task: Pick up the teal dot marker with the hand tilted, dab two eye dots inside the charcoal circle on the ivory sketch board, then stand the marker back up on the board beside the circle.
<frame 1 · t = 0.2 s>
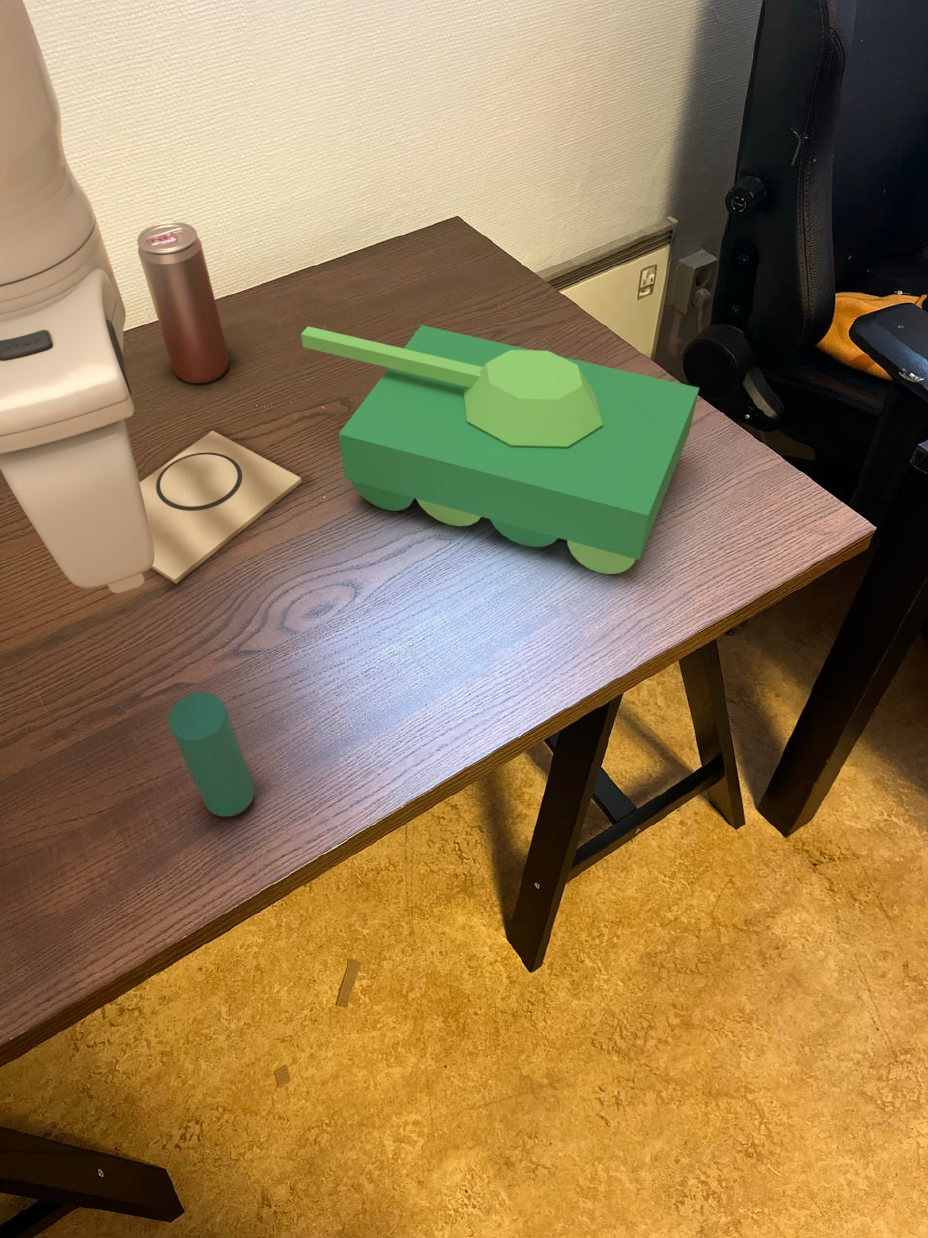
hand: (108, 523, 52), 24 cm above the table, tool pointing down, fingers open, 8 cm apart
beverage can: (202, 370, 101), on the table
toy tank: (481, 474, 90), on the table
dot marker: (232, 800, 68), on the table
sketch board: (196, 504, 88), on the table
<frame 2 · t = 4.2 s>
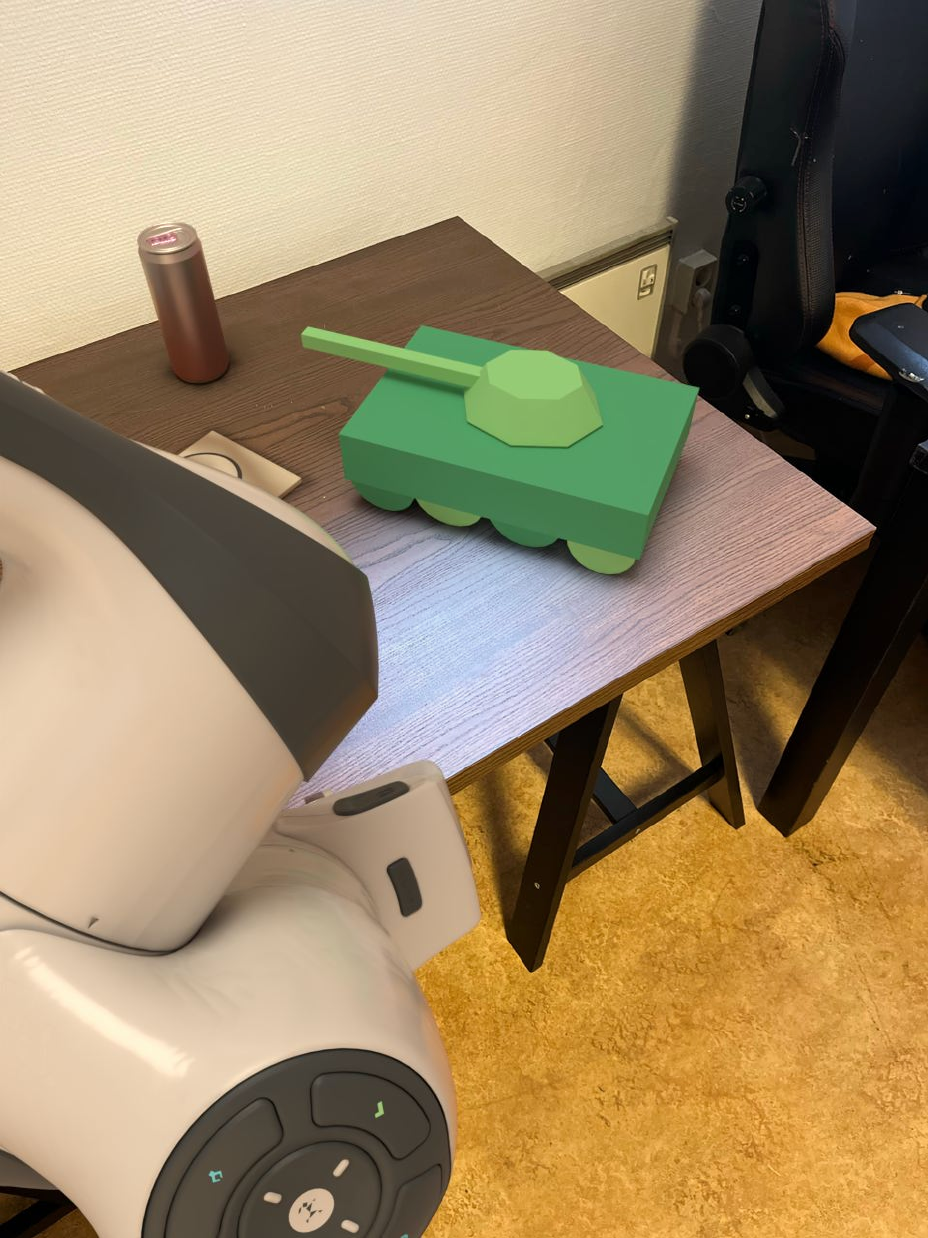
hand: (234, 841, 49), 16 cm above the table, tool tilted 45°, fingers open, 8 cm apart
nothing on the table moved.
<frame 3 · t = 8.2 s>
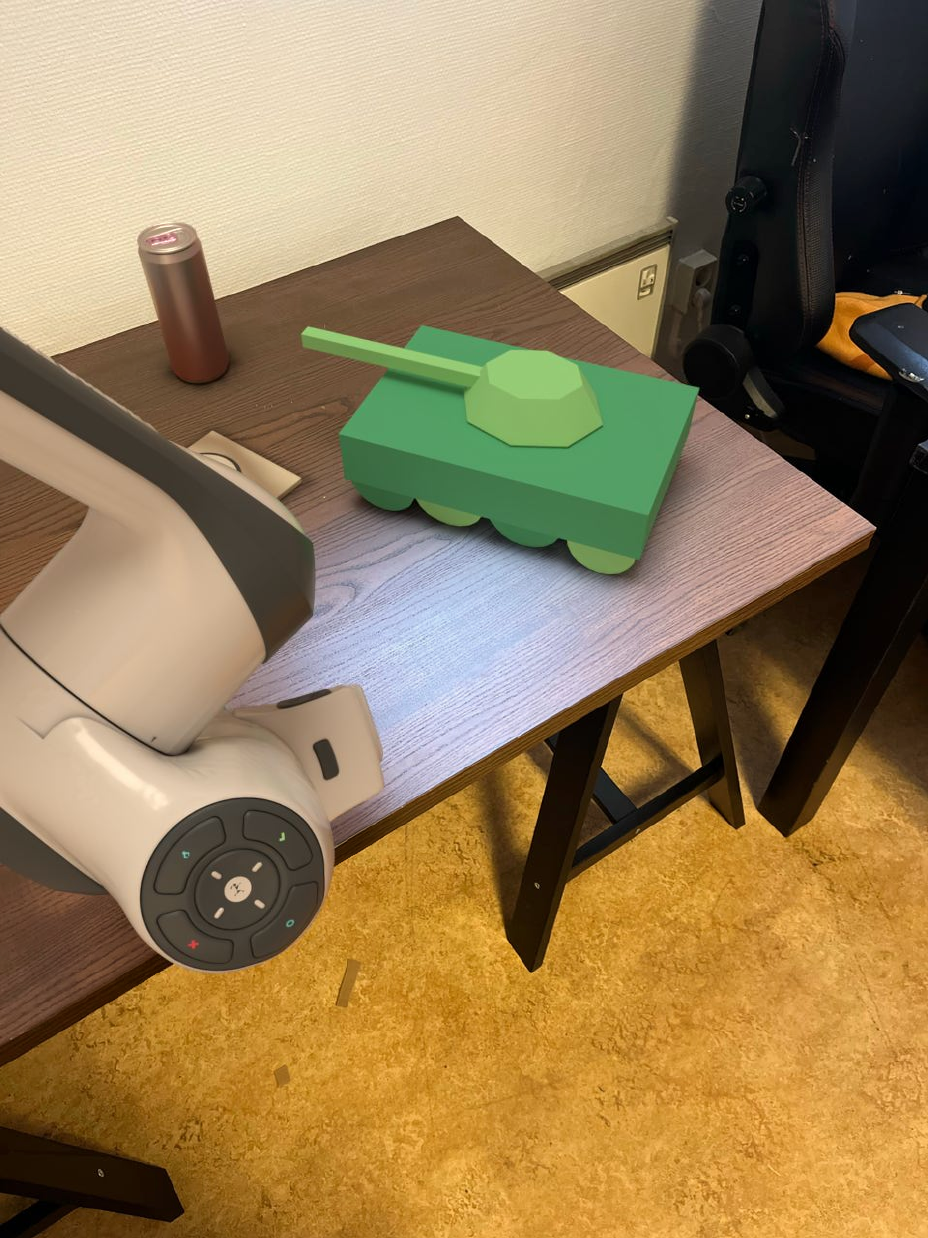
hand: (212, 749, 64), 6 cm above the table, tool tilted 45°, fingers closed on dot marker, 3 cm apart
dot marker: (232, 800, 68), on the table, touching gripper
everything else where it was.
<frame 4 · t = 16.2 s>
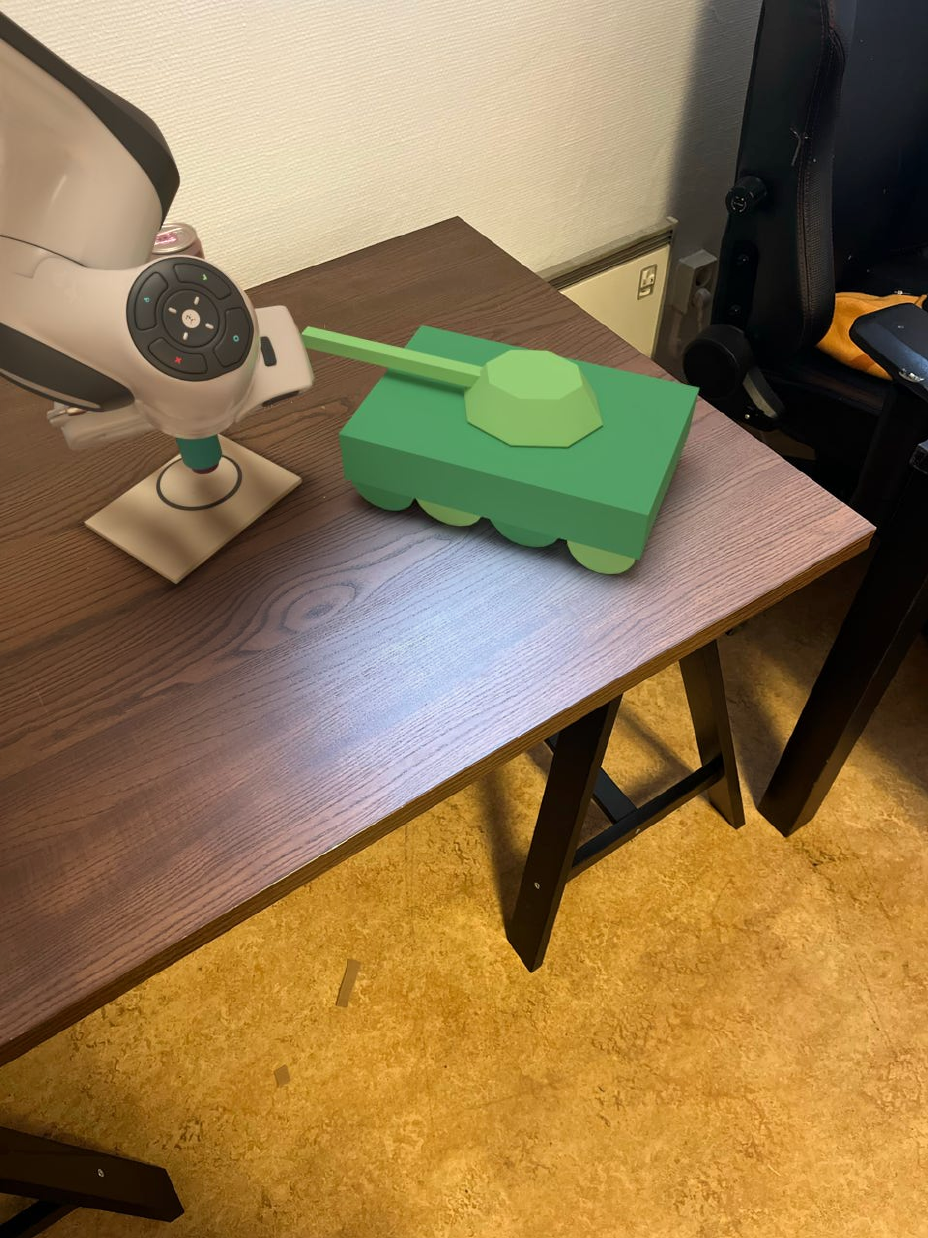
hand: (187, 407, 82), 9 cm above the table, tool tilted 45°, fingers closed on dot marker, 3 cm apart
dot marker: (205, 464, 86), point 3 cm above the table, touching gripper
everything else where it was.
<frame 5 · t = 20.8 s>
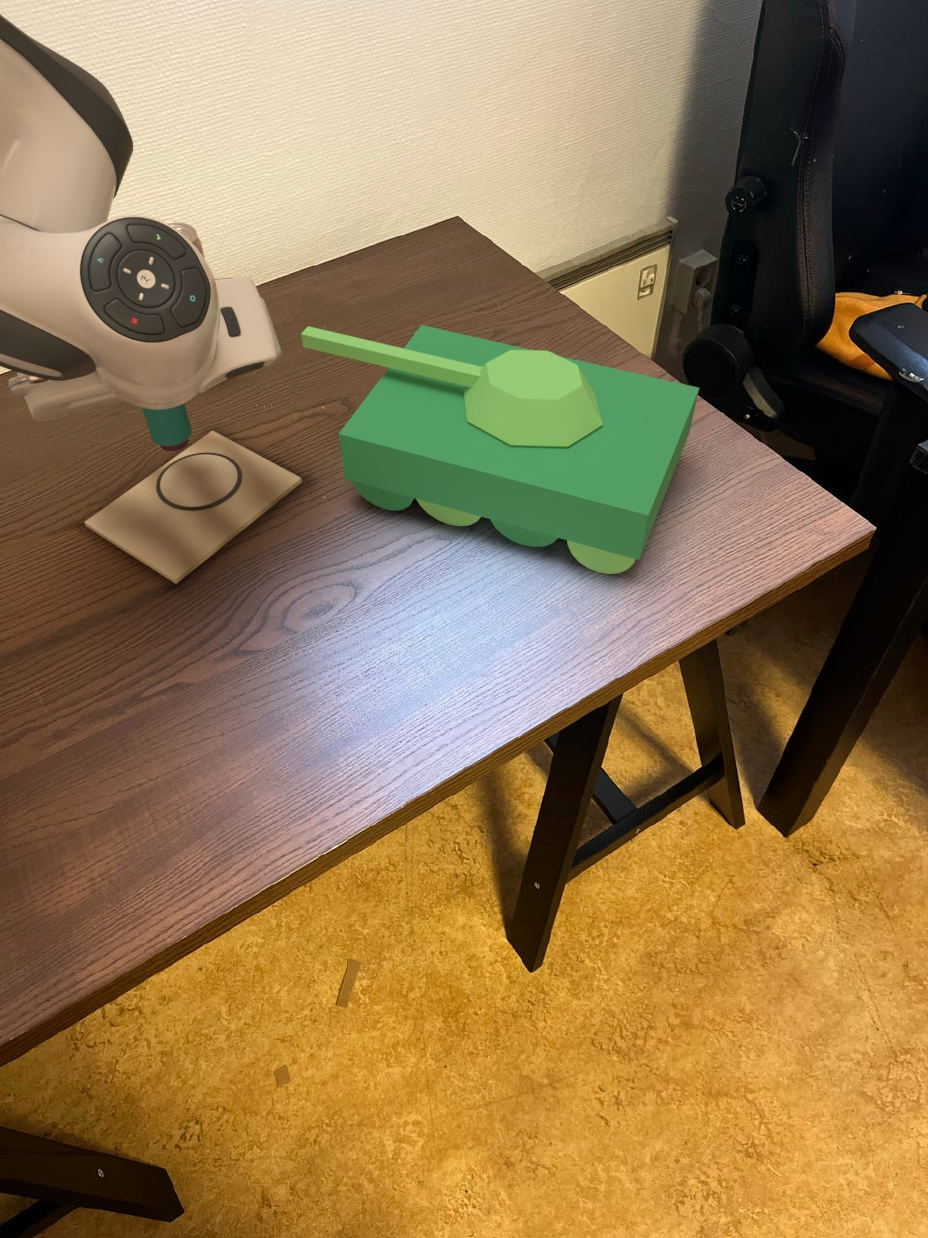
hand: (156, 382, 82), 11 cm above the table, tool tilted 45°, fingers closed on dot marker, 3 cm apart
dot marker: (174, 442, 86), point 5 cm above the table, touching gripper
everything else where it was.
when the fingers open (6 cm above the table, at t = 24.4 s): dot marker stays where it is, resting on sketch board.
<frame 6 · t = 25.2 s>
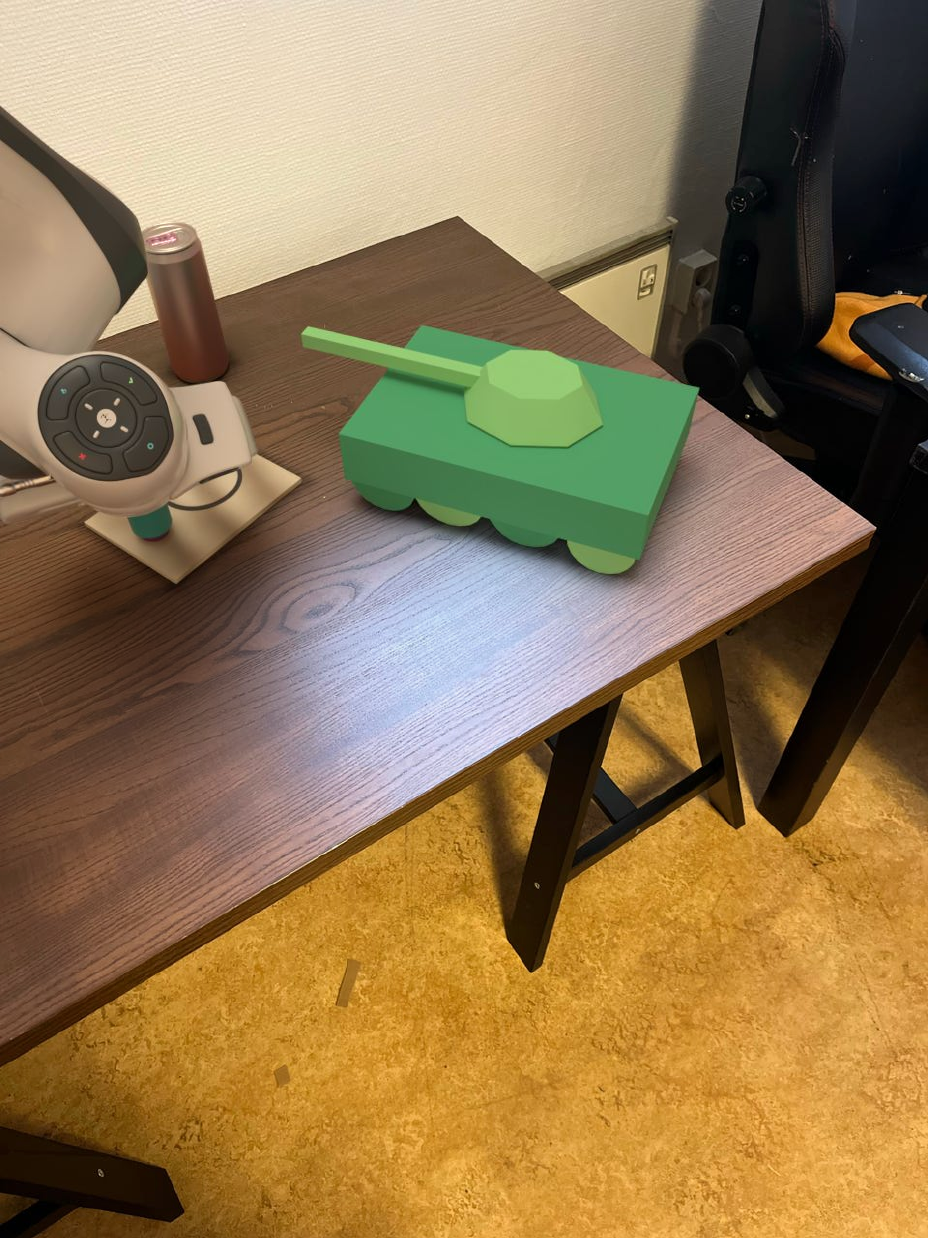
hand: (132, 474, 80), 7 cm above the table, tool tilted 45°, fingers open, 8 cm apart
dot marker: (155, 531, 84), point 1 cm above the table, touching sketch board
everything else where it was.
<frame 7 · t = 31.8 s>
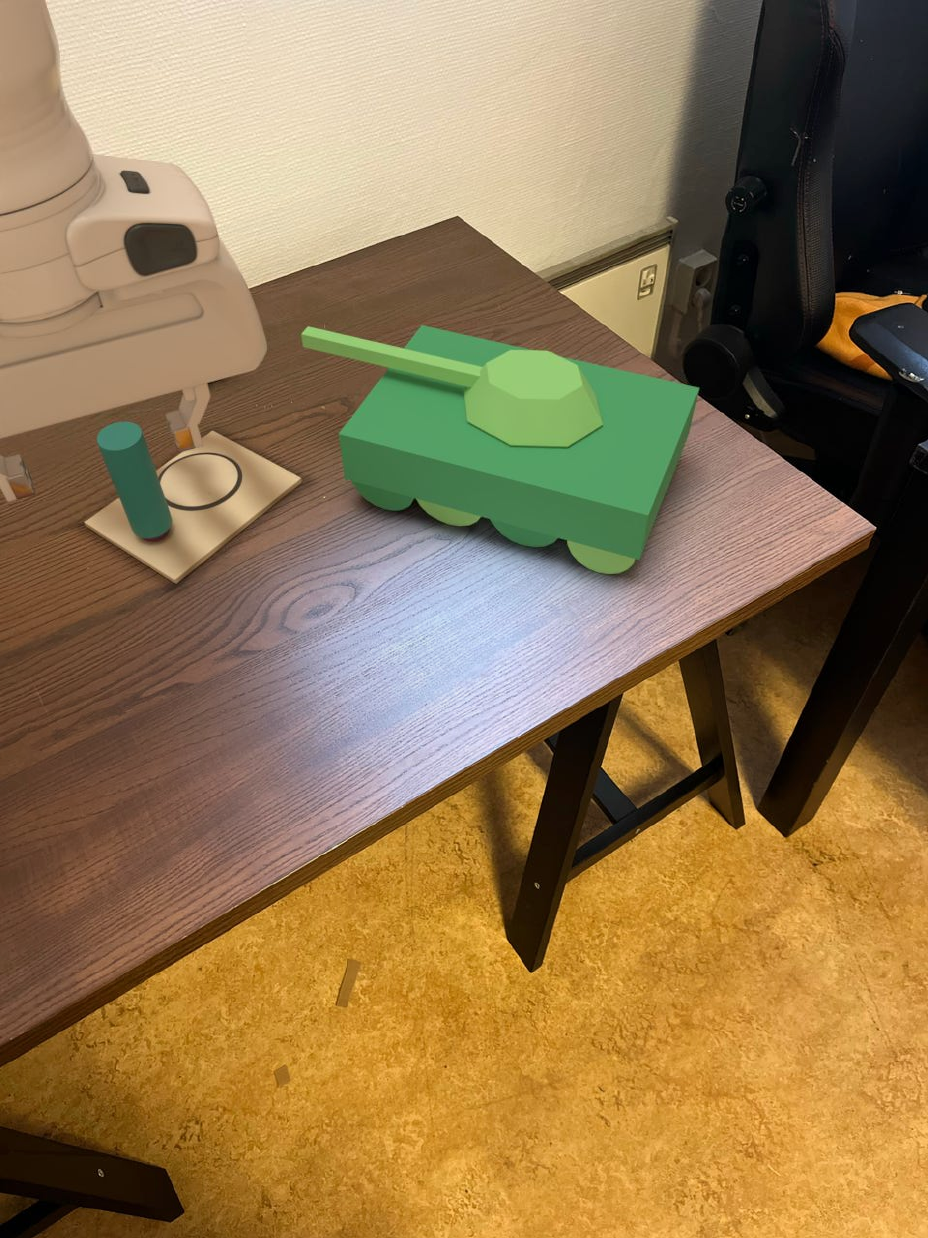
hand: (106, 467, 53), 25 cm above the table, tool pointing down, fingers open, 8 cm apart
nothing on the table moved.
at the end: dot marker 0.5 cm from the target spot on the sketch board, point 0.6 cm above the sketch board's base; dot marker tilted 0°; dot marker moved 28.9 cm from its start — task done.
